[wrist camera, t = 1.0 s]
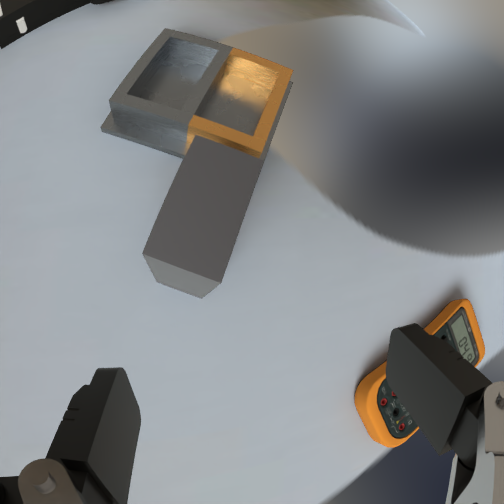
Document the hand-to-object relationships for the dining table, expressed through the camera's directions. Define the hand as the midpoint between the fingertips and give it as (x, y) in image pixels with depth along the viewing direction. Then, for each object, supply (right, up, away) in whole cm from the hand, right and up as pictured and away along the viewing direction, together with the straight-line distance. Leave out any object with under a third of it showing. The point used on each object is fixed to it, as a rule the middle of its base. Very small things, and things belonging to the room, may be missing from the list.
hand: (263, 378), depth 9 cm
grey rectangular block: (-5, +4, +19) cm, 20 cm away
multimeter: (+18, -9, +22) cm, 30 cm away
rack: (-5, +19, +22) cm, 29 cm away
